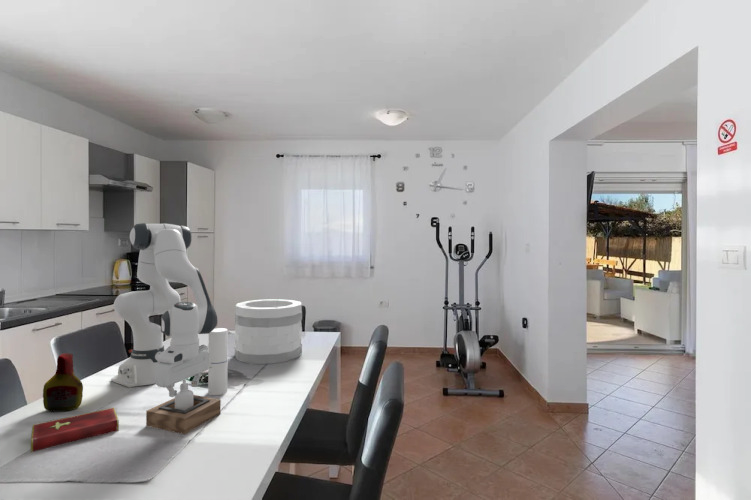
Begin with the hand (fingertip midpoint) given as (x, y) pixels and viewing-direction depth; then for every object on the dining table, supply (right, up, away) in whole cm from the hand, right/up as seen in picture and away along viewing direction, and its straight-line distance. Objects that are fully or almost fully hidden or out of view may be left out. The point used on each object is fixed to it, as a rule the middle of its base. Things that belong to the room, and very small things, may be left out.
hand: (184, 391), depth 134 cm
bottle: (-46, -9, +7) cm, 48 cm away
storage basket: (+7, -9, +79) cm, 80 cm away
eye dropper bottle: (0, -8, 0) cm, 8 cm away
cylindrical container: (+1, -10, +25) cm, 27 cm away
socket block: (0, -10, 0) cm, 10 cm away
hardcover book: (-29, -10, -10) cm, 32 cm away
